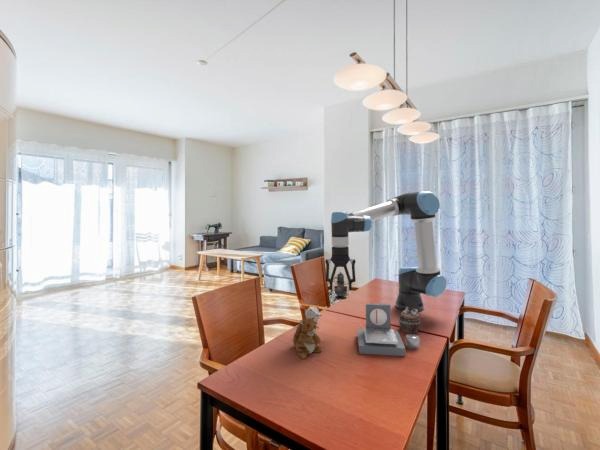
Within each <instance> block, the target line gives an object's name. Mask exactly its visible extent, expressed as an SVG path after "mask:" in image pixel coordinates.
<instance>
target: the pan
mask: <svg viewBox="0 0 600 450" xmlns="http://www.w3.org/2000/svg"><path fill="white" fill-rule="evenodd" d="M363 329H364V334H365V341H366V343H382V344H398V340H397V338H396V335H395V333H394V331H395V330H394V329H392V328H391V329H378V328H366V327H363Z"/></svg>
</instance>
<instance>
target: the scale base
mask: <svg viewBox="0 0 600 450" xmlns="http://www.w3.org/2000/svg"><path fill="white" fill-rule="evenodd" d="M391 310H392V309H391V304H390V303H383V302H382V303H379V302H365V328H378V329H392V328H391V324H392V323H391V319H392V317H391V315H392V314H391ZM394 333H395V335H396V338H397V340H398V344H382V343H366V341H365V334H364V328H363V329H360V328H358V329H357V343H358V351H359V352H358V353H359V354H363V355H364V354H365V355H366V354H367V355H381V356H395V357H397V356H398V357H406V346H405V344H404V342H403V340H402V337H401V335H400V333H399V331H398V330H397V331H396V330H394Z"/></svg>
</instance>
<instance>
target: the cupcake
mask: <svg viewBox="0 0 600 450" xmlns="http://www.w3.org/2000/svg"><path fill="white" fill-rule="evenodd" d="M405 309H406V310H402V312H400V315H399V317H398V322H399V327H400V330H401V331H402V332H404V333H409V334H415V333H418V332H419V330H420V325H421V321H422V319H421V317H420V315H421V314H419V311H418V310H417V308H410V307H406V308H405Z"/></svg>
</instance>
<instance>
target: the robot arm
mask: <svg viewBox="0 0 600 450" xmlns="http://www.w3.org/2000/svg"><path fill="white" fill-rule="evenodd" d="M439 209H440V200H439V198H438V196H437V195H436V194H435V193H434V192H432V191H425V190H424V191H416V192H406V193H403V194H400V195H398V196H395V197H393V198H389V199H387V200H386V201H385V202H381V203H378V204H375V205H373V206H369V207H366V208H363V209H360V210H356V211H352V212H350V213H349V212H348V211H333V212H331V216H330V217H331V218H330V225H331V246H332V247H331V257H330V258H326V259H325V265H326V268H325V269H326V270H325V281H326V282H327V283H329V290H330V291H332V298H333V299H334V298H335V291H334V290H335V281H334V278H335V274H336V271H337V268H343V270H344V272H345V275H346V278H347V282H346V289H347V293H346V295H347V296H346V297H347V299H350V291H352V289H353V288H352V283H355V282H356V271H355V269H356V267H355V264H356V261H357V260H356V259H354V258H353V259H352V258H350V256H349V255H350V254H349V251H350V250H349V233H364V232H369V231H370V230H372V226H373V222H374V221H378V220H381V219H384V218H387V217H389V216H391V217H396V216H400V215H404V216H405V215H410V220H411V221H412V222H413V223H414V231H415V232H414V233H415V241H416V242H415V243H416V251H417V263H418V264H417V265H418V266H402V267H399V269H398V294H397V297H396V299H395V307H396V308H397V309H399V310H402V311H404V310H406V309H405V308H406V307H410V308H417V310H418V312H421V311H423V310H424V309H425V303H424V300H423V298H422V295H421V294H423V295H426V296H429V297H434V298H436V297H440V296H441V295H443V293H444V292H445V290H446V288H447V279H446V277H445V276H444V275H442V274H441V269H440V267H438V266H437V256H436V246H435V236H434V226H433V225H434V223H433V221H434V219H435V218H436V214H437V213H438V212H439ZM331 263H333V268H332V273H331V276H330V264H331ZM349 263H350V264H351V273H352V274H351V275H350V272H349V269H348V264H349ZM351 276H352V278H351ZM329 277H330V278H329Z"/></svg>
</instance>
